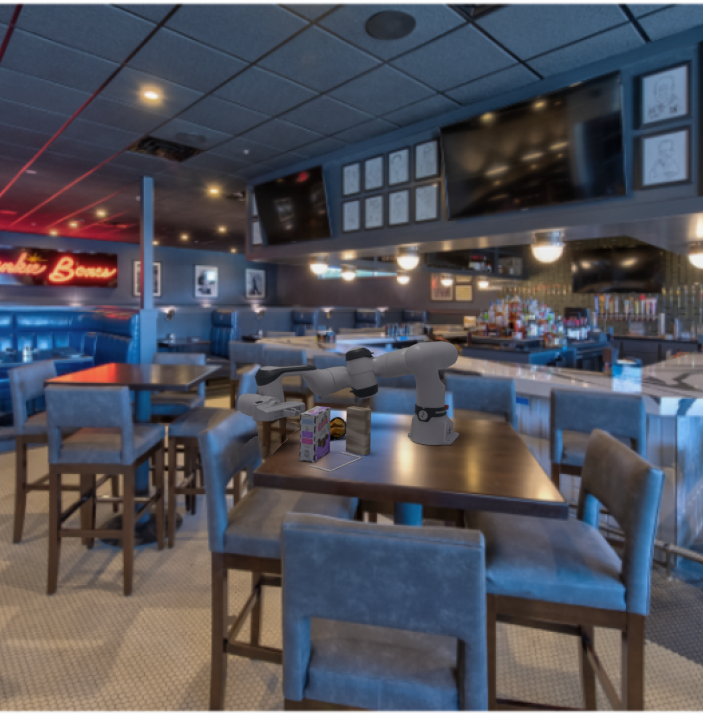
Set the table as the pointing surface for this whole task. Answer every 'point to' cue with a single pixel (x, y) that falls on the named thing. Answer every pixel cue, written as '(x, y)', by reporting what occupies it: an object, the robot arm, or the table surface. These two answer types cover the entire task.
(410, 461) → the table surface
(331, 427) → the fried shrimp in bowl
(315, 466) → the slot outline
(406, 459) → the table surface
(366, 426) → the ash tower
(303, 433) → the candy box
